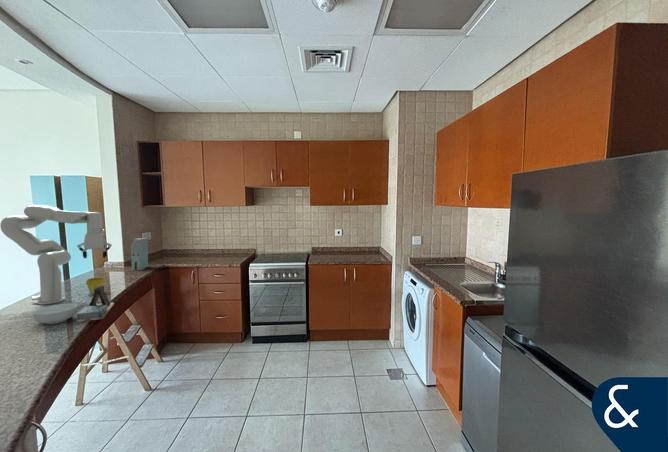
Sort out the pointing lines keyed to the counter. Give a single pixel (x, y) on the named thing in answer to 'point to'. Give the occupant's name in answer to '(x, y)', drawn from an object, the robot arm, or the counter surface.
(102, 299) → the door stopper
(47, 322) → the cereal bowl
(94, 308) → the housing
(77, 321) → the board
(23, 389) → the counter surface
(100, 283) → the plant pot
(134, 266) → the device
